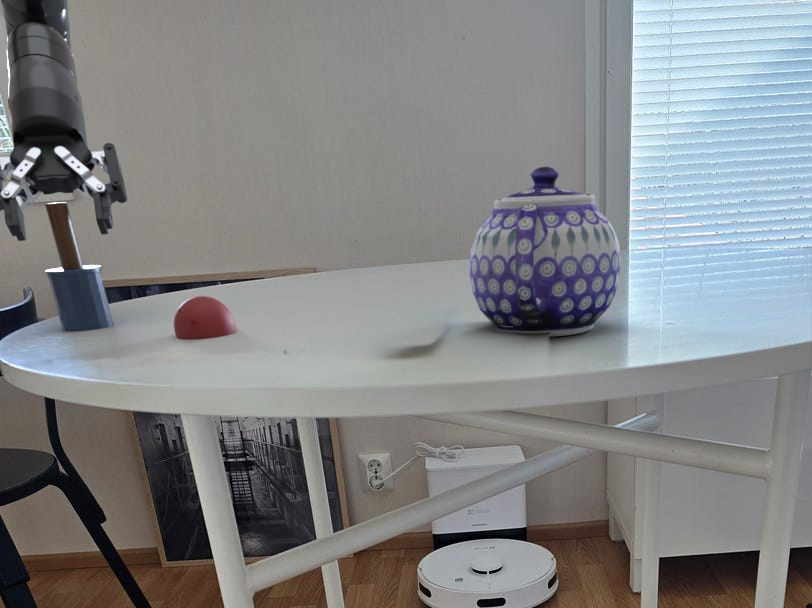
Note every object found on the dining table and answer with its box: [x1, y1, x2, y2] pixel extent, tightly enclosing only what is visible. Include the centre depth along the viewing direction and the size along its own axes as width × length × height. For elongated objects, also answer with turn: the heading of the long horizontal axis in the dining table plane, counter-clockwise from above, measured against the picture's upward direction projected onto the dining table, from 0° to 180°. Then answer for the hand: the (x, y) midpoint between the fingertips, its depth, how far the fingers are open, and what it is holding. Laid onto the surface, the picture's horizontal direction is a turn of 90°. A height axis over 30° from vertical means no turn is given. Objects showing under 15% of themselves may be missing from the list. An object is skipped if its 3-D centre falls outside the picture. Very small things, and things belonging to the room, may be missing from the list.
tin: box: [47, 271, 114, 332], centre depth 97 cm, size 5×5×8 cm
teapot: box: [469, 166, 621, 337], centre depth 86 cm, size 25×15×15 cm, turn 165°
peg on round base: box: [44, 201, 103, 277], centre depth 94 cm, size 6×6×8 cm
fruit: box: [173, 295, 237, 341], centre depth 87 cm, size 6×6×8 cm
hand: (61, 232), depth 92 cm, fingers open, 8 cm apart
